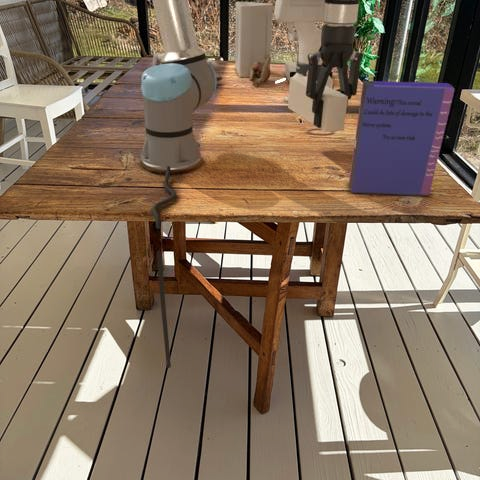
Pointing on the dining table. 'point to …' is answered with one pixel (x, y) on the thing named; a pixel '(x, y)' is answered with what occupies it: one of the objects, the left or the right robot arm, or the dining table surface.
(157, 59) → the toy
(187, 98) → the left robot arm
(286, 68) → the disc drive
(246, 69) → the white upright box
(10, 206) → the dining table surface
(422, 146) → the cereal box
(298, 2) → the right robot arm
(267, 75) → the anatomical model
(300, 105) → the bar
